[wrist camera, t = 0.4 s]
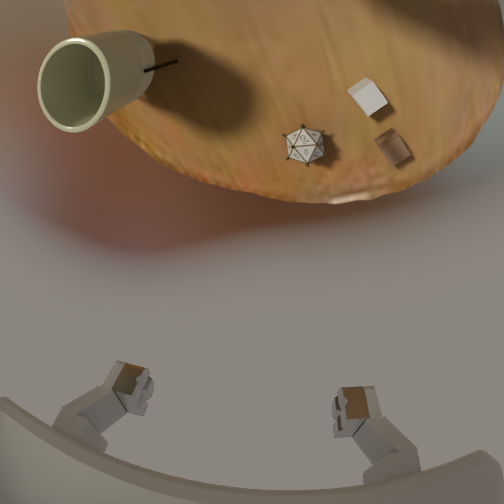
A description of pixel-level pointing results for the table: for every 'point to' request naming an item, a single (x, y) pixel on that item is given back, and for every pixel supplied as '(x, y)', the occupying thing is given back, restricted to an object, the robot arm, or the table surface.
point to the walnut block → (392, 147)
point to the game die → (305, 145)
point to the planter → (94, 77)
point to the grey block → (367, 96)
